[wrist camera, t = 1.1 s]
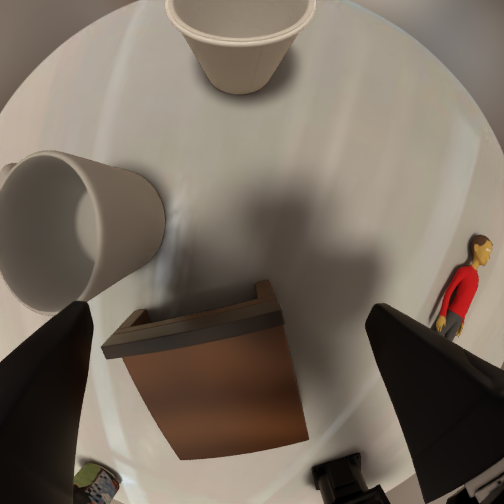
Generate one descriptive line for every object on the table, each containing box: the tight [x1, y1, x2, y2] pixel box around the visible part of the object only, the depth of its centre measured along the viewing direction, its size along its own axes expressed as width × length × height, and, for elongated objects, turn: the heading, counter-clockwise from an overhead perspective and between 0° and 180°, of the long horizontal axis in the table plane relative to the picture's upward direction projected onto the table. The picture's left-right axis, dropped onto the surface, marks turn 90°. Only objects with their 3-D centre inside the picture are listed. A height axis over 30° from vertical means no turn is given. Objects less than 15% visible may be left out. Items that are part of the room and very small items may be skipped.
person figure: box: [435, 235, 492, 341], centre depth 23 cm, size 5×4×18 cm
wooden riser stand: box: [101, 280, 309, 460], centre depth 20 cm, size 14×12×7 cm
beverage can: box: [73, 463, 119, 504], centre depth 20 cm, size 6×7×12 cm
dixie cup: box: [165, 0, 316, 94], centre depth 15 cm, size 8×8×10 cm
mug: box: [0, 151, 165, 316], centre depth 16 cm, size 12×8×11 cm
